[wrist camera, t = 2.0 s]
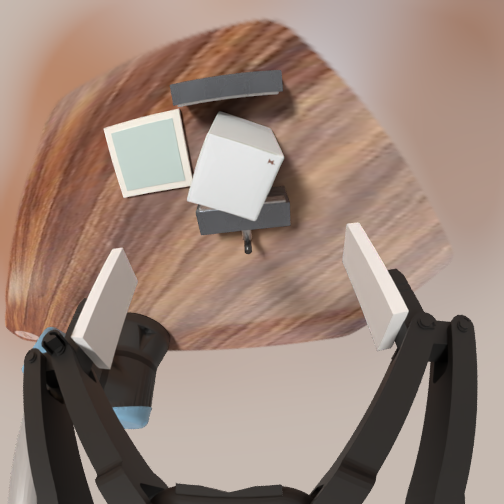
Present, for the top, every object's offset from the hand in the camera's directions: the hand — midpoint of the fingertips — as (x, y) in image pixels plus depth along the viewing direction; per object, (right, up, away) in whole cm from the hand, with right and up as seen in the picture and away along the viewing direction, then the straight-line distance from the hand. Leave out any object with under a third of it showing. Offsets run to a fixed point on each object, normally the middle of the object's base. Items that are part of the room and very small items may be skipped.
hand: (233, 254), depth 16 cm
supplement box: (-1, +14, +19) cm, 24 cm away
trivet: (-13, +13, +19) cm, 27 cm away
